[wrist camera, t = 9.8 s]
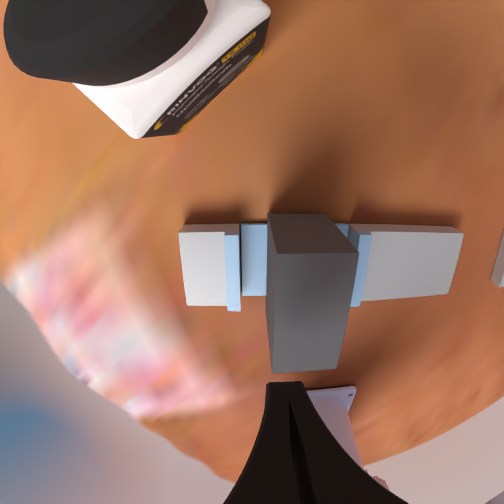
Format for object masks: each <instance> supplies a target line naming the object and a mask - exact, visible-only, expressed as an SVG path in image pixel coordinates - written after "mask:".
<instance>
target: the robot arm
mask: <svg viewBox="0 0 504 504" xmlns="http://www.w3.org/2000/svg"><path fill="white" fill-rule="evenodd" d="M356 391H357V389H356V387H355V386H347V387H339V388H330V389H320V390H309V391H306V389H305V387H304V385H303V383H302V382H301V381H294V382H269V383H268V384H266V397H265V409H264V414H263V418H262V422H261V426H260V429H259V432H258V435H257V438H256V441H255V444H254V446H253V449H252V451H251V454H250V456H249V458H248V460H247V463H246V465H245V467H244V469H243V471H242V473H241V475H240V477H239V479H238V480H237V482H236V484H235V486H234V487H233V489H232V491H231V492H230V494H229V496H228V497H227V499H226V500H225V502H224V503H223V504H408V503H407V502H406V501H404V500H402V499H401V498H399V497H398V496H396V495H395V494H393V493H392V492H390V491H389V488H388V486H387V484H386V482H385V481H384V480H383V479H380V478H378V477H377V476H374V477H371V476H369V474H368V472H367V470H364V469H363V465H362V461H361V458H360V454H359V451H358V447H357V443H356V440H355V436H354V433H353V429H352V426H351V423H350V419H349V416H348V412H349V409H350V407H351V404H352V401H353V399H354V396H355V393H356ZM485 504H504V491H503V492H502V493H500V494H499V495H497V496H496V497H494V498H493V499H491V500H490V501H488V502H487V503H485Z"/></svg>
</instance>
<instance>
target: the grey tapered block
mask: <svg viewBox="0 0 504 504" xmlns="http://www.w3.org/2000/svg"><path fill="white" fill-rule="evenodd" d="M358 258H359V252H358V251H357V249H356V248H355V247H354V246H353V245H352V244H351V242H350V241H349V240H348V239H347V238H346V236H345V235H344V234H343V233H342V232H341V231H340V229H339V228H338V227H337V226H336V225H335V224H334V223H333V221H332V220H331V219H330V218H329V217H328V216H327V215H326V214H307V213H267V276H266V319H267V329H268V339H269V349H270V359H271V369H272V373H285V372H302V371H316V370H328V369H336V368H337V364H338V360H339V356H340V351H341V347H342V343H343V338H344V334H345V329H346V325H347V320H348V315H349V310H350V305H351V300H352V294H353V289H354V283H355V277H356V271H357V265H358Z"/></svg>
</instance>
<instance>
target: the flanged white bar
mask: <svg viewBox="0 0 504 504" xmlns="http://www.w3.org/2000/svg"><path fill="white" fill-rule="evenodd" d="M334 224H335V225H336V226H337V227H338V228H339V229H340V231H341V232H342V233H343V234H344V235H345V236H346V238H347V239H348V240H349V241H350V242H351V244H352V245H353V246H354V247H355V248H356V249H357V251H358V252H359V258H358V265H357V271H356V277H355V283H354V289H353V294H352V300H351V305H350V307H358V306H360V302H361V301H373V300H386V299H399V298H410V297H421V296H431V295H441V294H448V292H449V289H450V285H451V282H452V279H453V275H454V272H455V268H456V264H457V261H458V257H459V253H460V249H461V244H462V240H463V236H464V233H462V232H461V231H459V230H458V229H456V228H454V227H452V226H427V225H395V224H349V225H348V224H344V223H334ZM179 243H180V253H181V262H182V270H183V279H184V287H185V294H186V302H187V305H192V306H227V307H228V311H241V275H240V230H239V224H188V225H183V226H182V228H181V229H180V231H179ZM241 256H242V296H264V295H266V276H267V223H241ZM490 280H491V281H492V282H493V283H495V284H496V285H497V286H498V287H504V230H503V235H502V239H501V243H500V247H499V251H498V254H497V258H496V262H495V265H494V268H493V272H492V275H491V278H490Z"/></svg>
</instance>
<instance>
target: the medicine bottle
mask: <svg viewBox="0 0 504 504" xmlns="http://www.w3.org/2000/svg"><path fill="white" fill-rule="evenodd" d="M270 15H271V9H270V8H269V6H268V5H267V4H265V3H264V2H263V1H262V0H9V2H8V5H7V8H6V12H5V18H4V39H5V44H6V49H7V52H8V54H9V57H10V59H11V60H12V62H13V63H14V65H15V66H16V67H18V68H19V69H20V70H21V71H22V72H24V73H26V74H28V75H31V76H34V77H38V78H45V79H52V80H59V81H65V82H71V83H73V84H74V85H75V86H76V87H77V88H78V89H79V90H80V91H82V92H83V93H84V94H85V95H86V96H87V97H88V98H89V99H90V100H91V101H92V102H94V103H95V104H96V105H97V106H98V107H99V108H100V109H101V110H102V111H103V112H104V113H105V114H107V115H108V116H109V117H110V118H111V119H112V120H113V121H114V122H115V123H116V124H117V125H118V126H120V127H121V128H122V129H123V130H124V131H125V132H126V133H127V134H128V135H129V136H130V137H132V138H134V139H137V138H146V137H155V136H165V135H177V134H179V133H181V131H182V130H183V129H184V128H185V127H186V126H187V125H188V124H189V123H190V122H191V121H192V120H193V119H194V118H195V117H196V116H197V115H198V114H199V113H200V112H201V111H202V110H203V109H204V108H205V107H206V106H207V105H208V104H209V103H210V102H211V101H212V100H213V99H214V98H215V97H216V96H217V95H218V94H219V93H220V92H221V91H222V90H223V89H224V88H225V87H226V86H227V85H229V84H230V83H231V82H232V81H233V80H234V79H235V78H236V77H237V76H238V75H240V74H241V73H242V72H243V71H244V70H245V69H246V68H247V67H249V66H250V65H251V64H252V63H253V62H254V61H256V60H257V59H258V58H259V57H260V56H261V55H262V52H263V47H264V42H265V38H266V33H267V29H268V24H269V20H270Z"/></svg>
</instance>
